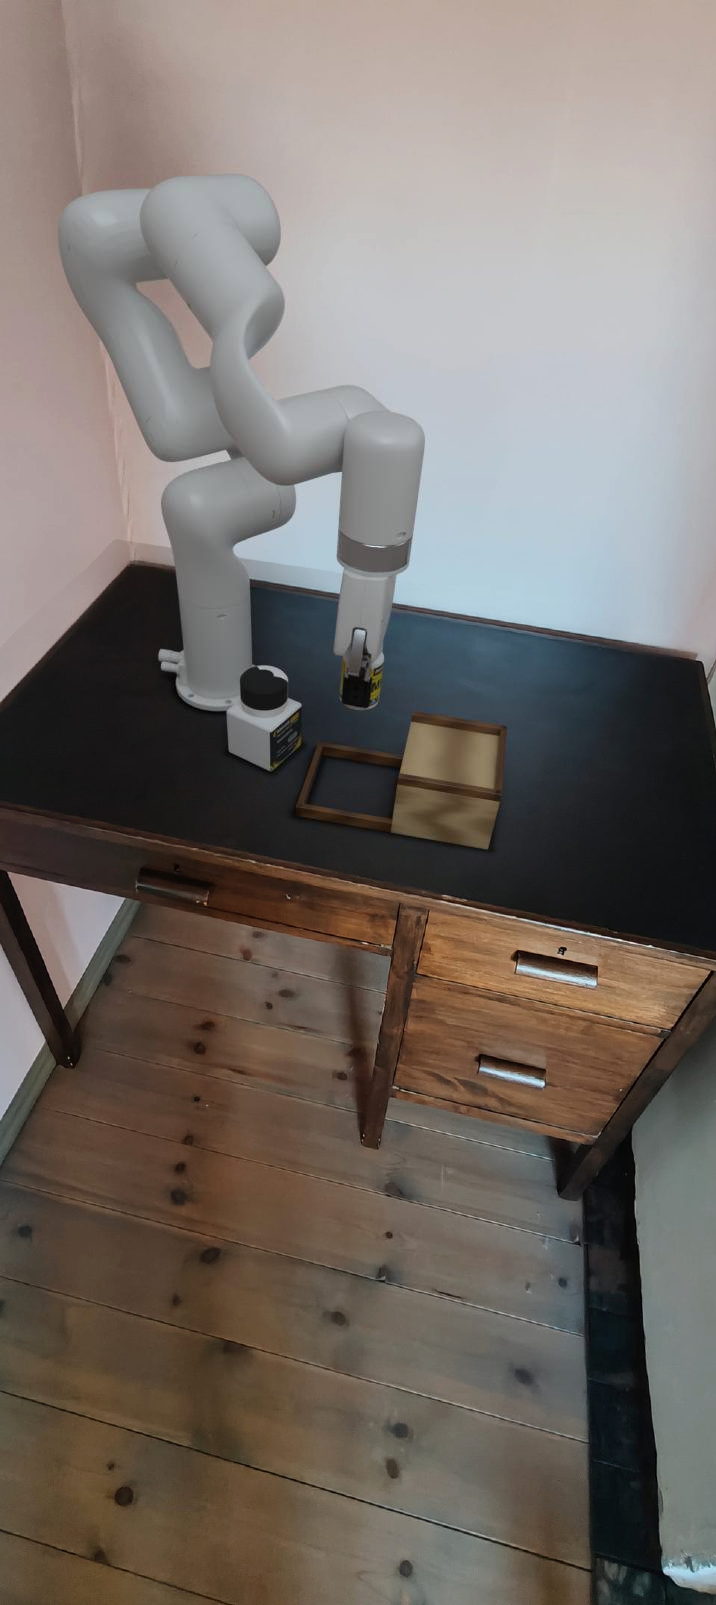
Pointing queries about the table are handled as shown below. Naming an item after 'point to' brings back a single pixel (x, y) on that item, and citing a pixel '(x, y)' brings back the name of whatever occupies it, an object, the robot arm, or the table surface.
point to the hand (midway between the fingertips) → (360, 689)
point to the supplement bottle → (375, 674)
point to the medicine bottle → (264, 718)
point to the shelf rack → (431, 781)
